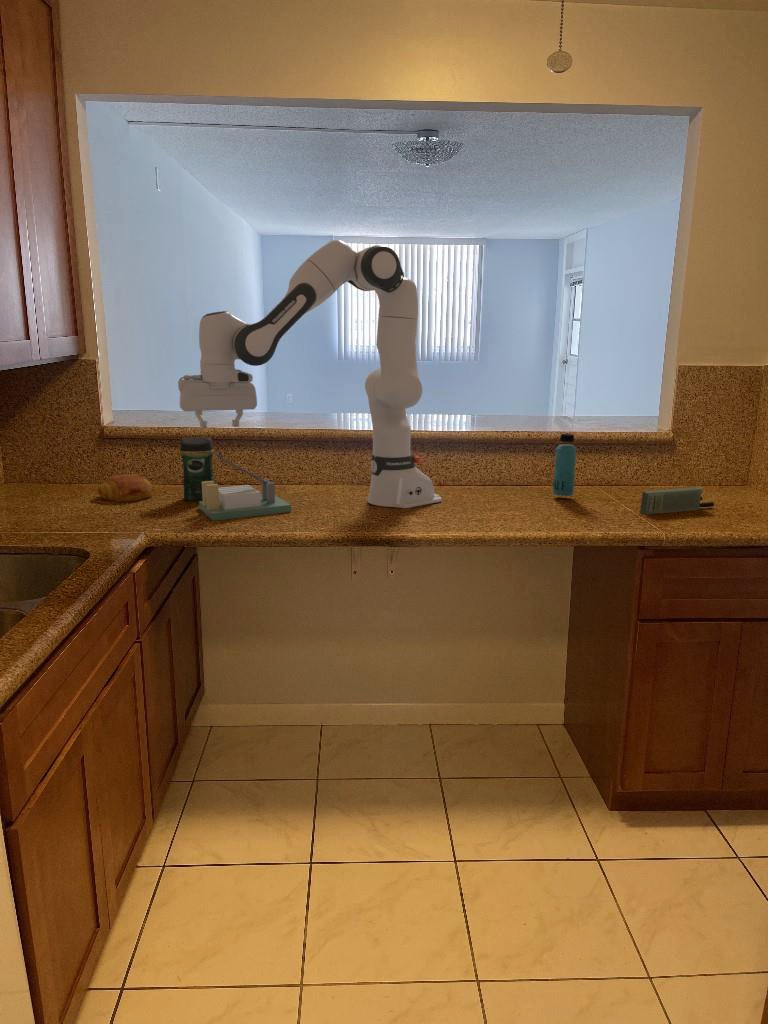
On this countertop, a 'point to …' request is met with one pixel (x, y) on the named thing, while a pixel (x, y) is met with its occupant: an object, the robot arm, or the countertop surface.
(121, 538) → the countertop surface
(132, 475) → the croissant
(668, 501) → the handheld radio
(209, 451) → the coffee jar
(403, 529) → the countertop surface
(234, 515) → the board
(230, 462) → the retention strap
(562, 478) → the beverage bottle
